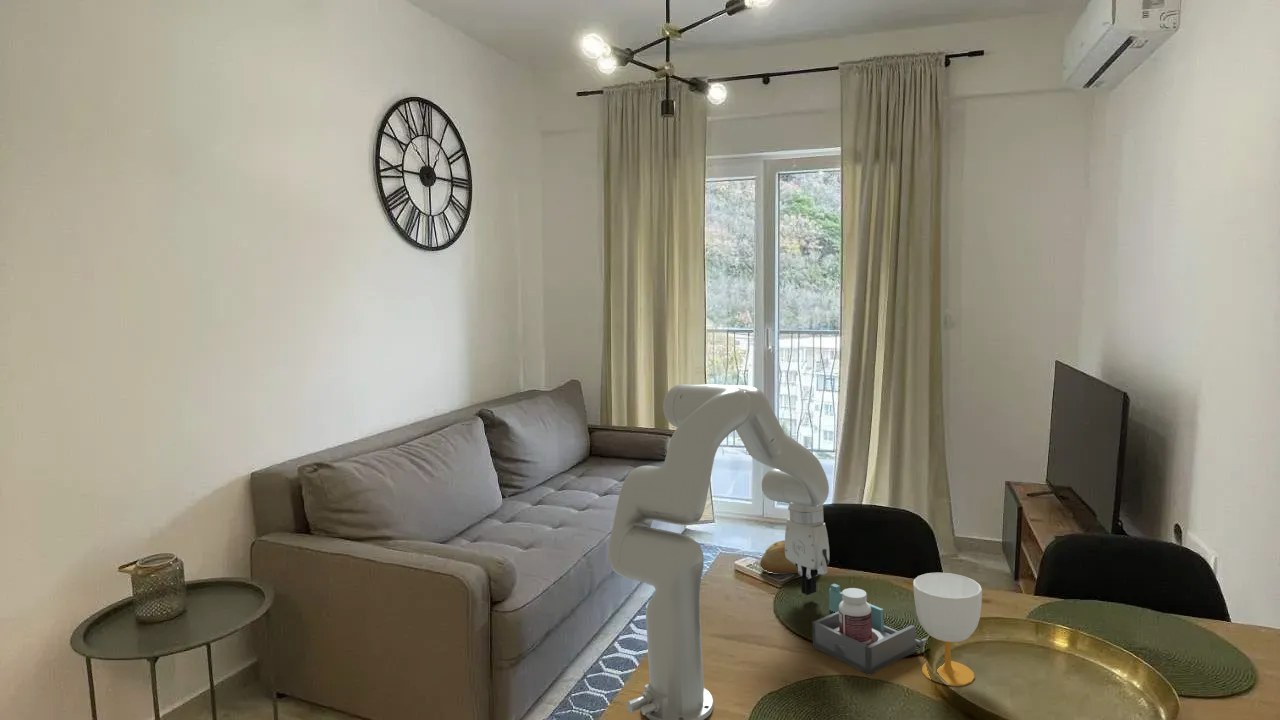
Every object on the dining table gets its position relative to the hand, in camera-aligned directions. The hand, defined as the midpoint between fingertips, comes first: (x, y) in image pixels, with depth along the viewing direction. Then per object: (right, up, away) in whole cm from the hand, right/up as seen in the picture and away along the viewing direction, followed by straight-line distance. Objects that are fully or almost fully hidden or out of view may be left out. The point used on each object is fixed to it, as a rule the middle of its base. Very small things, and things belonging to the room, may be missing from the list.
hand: (809, 592), depth 171 cm
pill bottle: (+4, -3, -24) cm, 25 cm away
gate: (+8, -3, -11) cm, 14 cm away
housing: (+7, -4, -22) cm, 24 cm away
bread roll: (-1, -1, +17) cm, 17 cm away
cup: (+18, -5, -34) cm, 38 cm away
